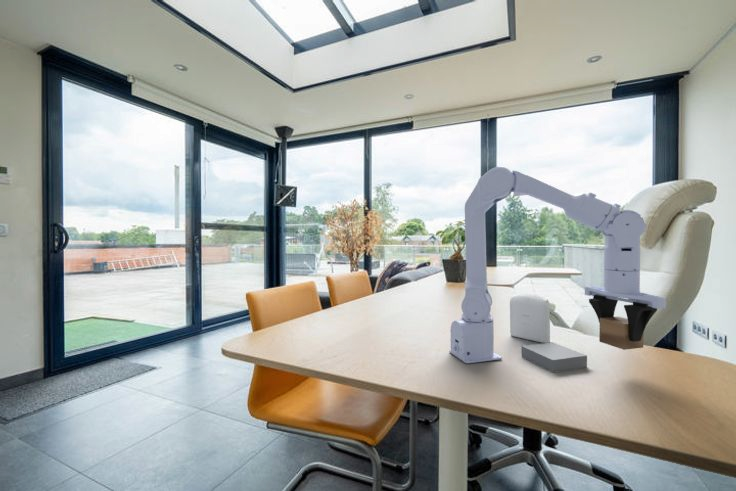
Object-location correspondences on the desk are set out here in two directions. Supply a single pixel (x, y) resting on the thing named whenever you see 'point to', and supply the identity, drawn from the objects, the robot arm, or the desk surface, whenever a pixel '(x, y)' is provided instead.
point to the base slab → (554, 357)
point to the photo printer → (530, 317)
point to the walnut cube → (617, 333)
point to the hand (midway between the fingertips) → (620, 336)
